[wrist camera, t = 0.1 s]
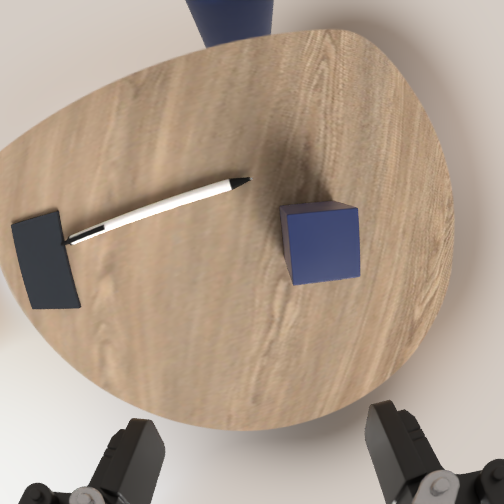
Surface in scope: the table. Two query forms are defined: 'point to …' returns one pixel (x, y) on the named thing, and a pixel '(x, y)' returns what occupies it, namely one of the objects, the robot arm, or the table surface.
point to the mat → (45, 263)
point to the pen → (157, 208)
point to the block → (320, 241)
